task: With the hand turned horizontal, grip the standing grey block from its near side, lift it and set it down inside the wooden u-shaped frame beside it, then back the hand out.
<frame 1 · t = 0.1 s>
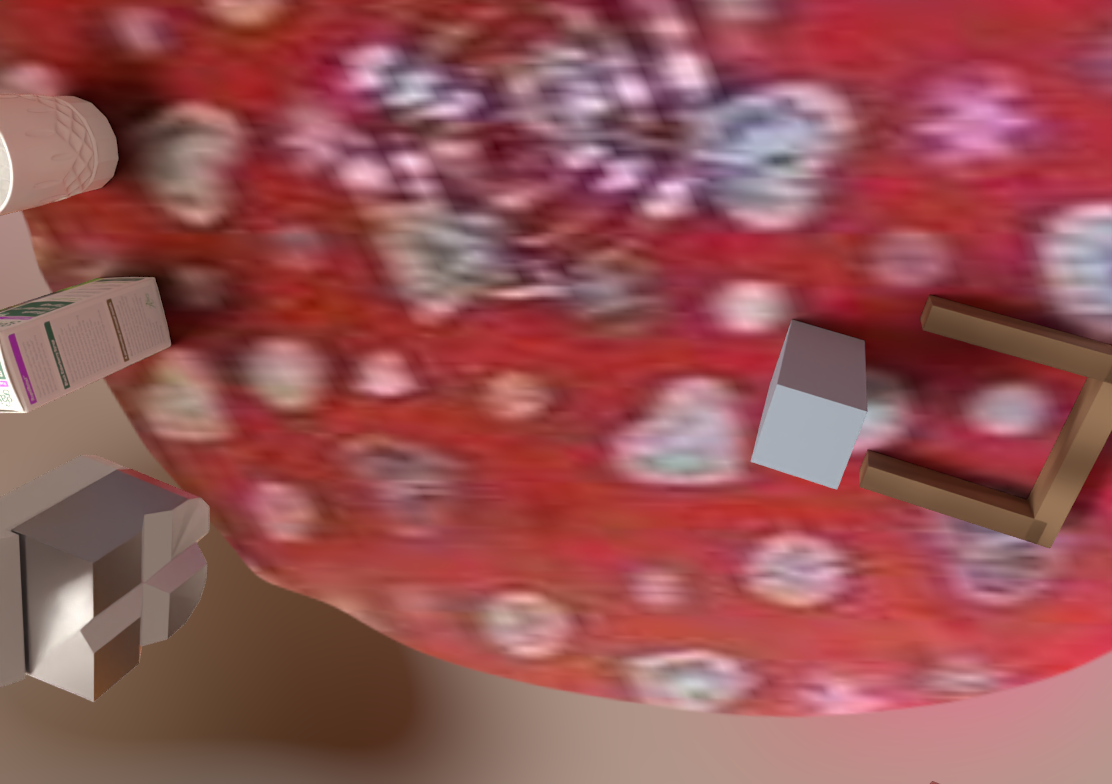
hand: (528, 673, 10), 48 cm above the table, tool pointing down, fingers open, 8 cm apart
white cup: (83, 143, 67), on the table
wooden u-shaped frame: (989, 415, 54), on the table
syrup box: (138, 312, 71), on the table
grey block: (816, 363, 56), on the table
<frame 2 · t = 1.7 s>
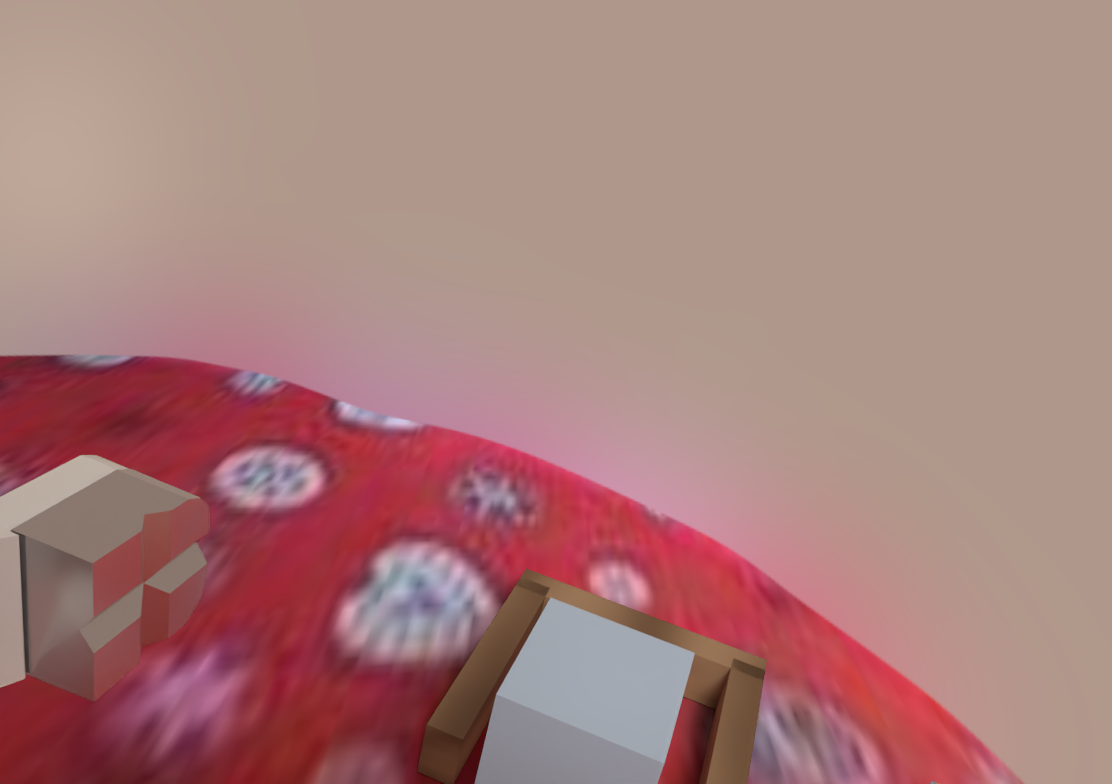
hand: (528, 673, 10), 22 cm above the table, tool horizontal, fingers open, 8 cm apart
wooden u-shaped frame: (600, 730, 39), on the table
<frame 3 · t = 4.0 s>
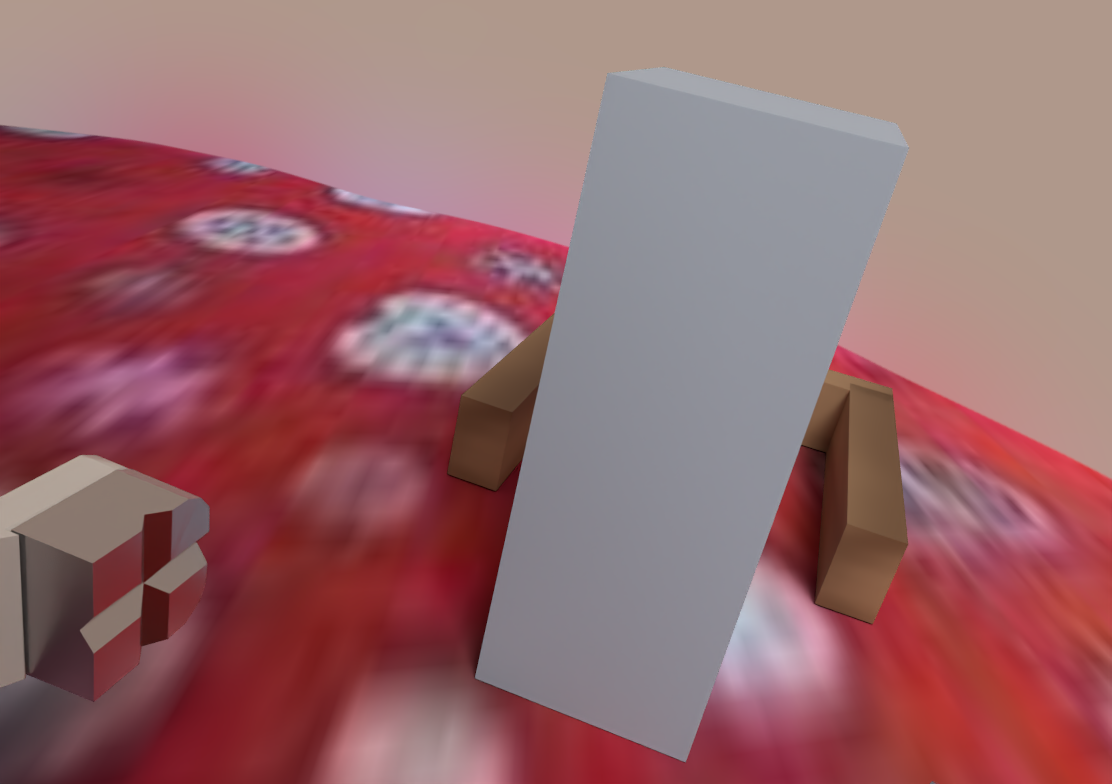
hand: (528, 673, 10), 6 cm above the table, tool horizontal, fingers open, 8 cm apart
wooden u-shaped frame: (685, 458, 29), on the table
grey block: (605, 651, 20), on the table
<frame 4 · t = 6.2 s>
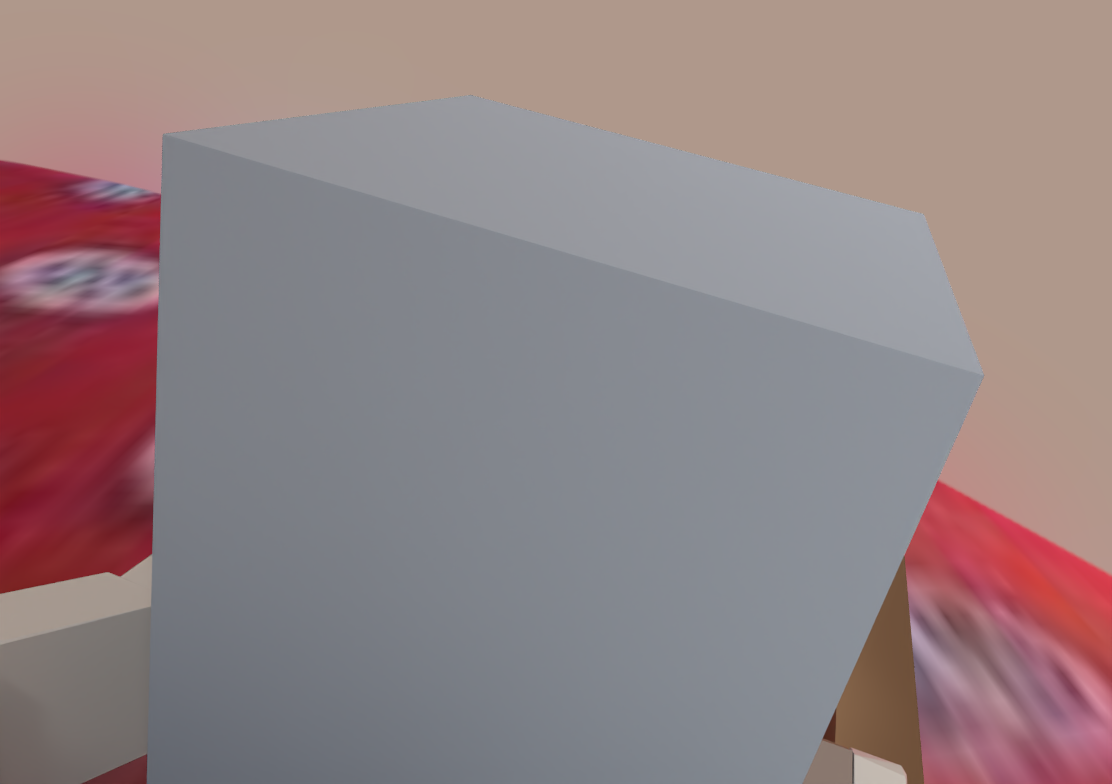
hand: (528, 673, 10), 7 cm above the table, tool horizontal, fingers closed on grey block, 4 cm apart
wooden u-shaped frame: (611, 630, 21), on the table
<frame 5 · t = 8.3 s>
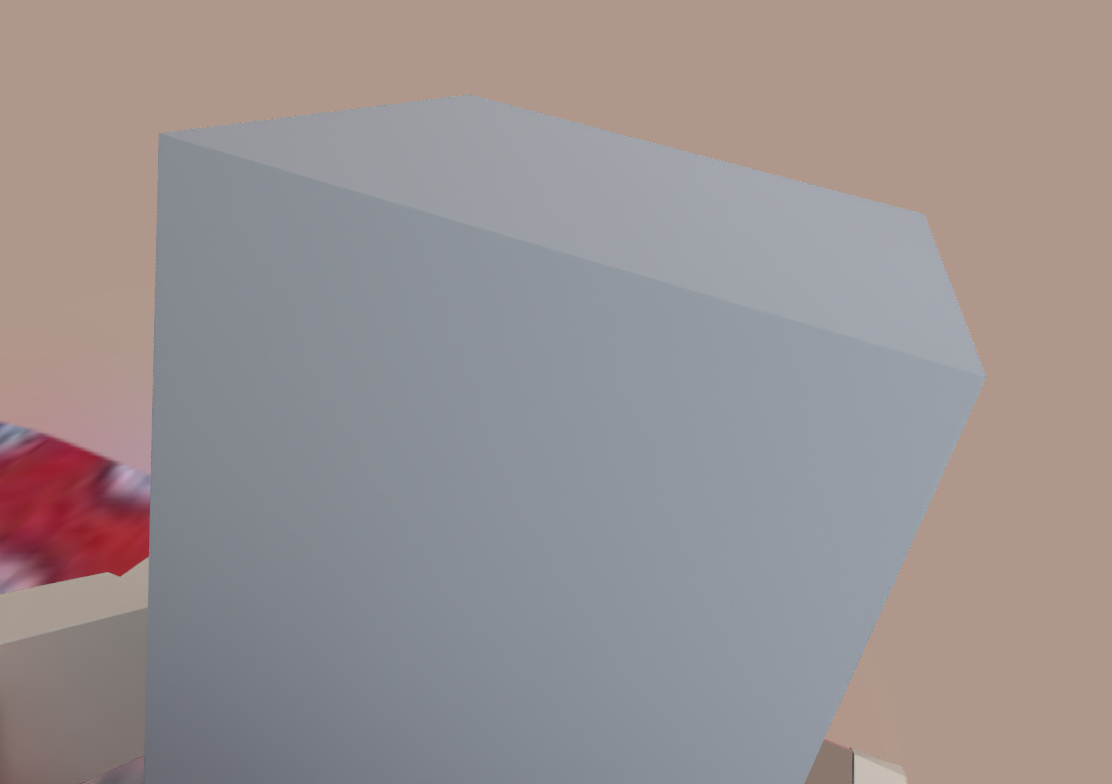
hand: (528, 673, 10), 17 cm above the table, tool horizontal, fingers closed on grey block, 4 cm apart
when the fingers open (8 cm above the table, at t = 10.7 s): grey block drops 1 cm, on the table.
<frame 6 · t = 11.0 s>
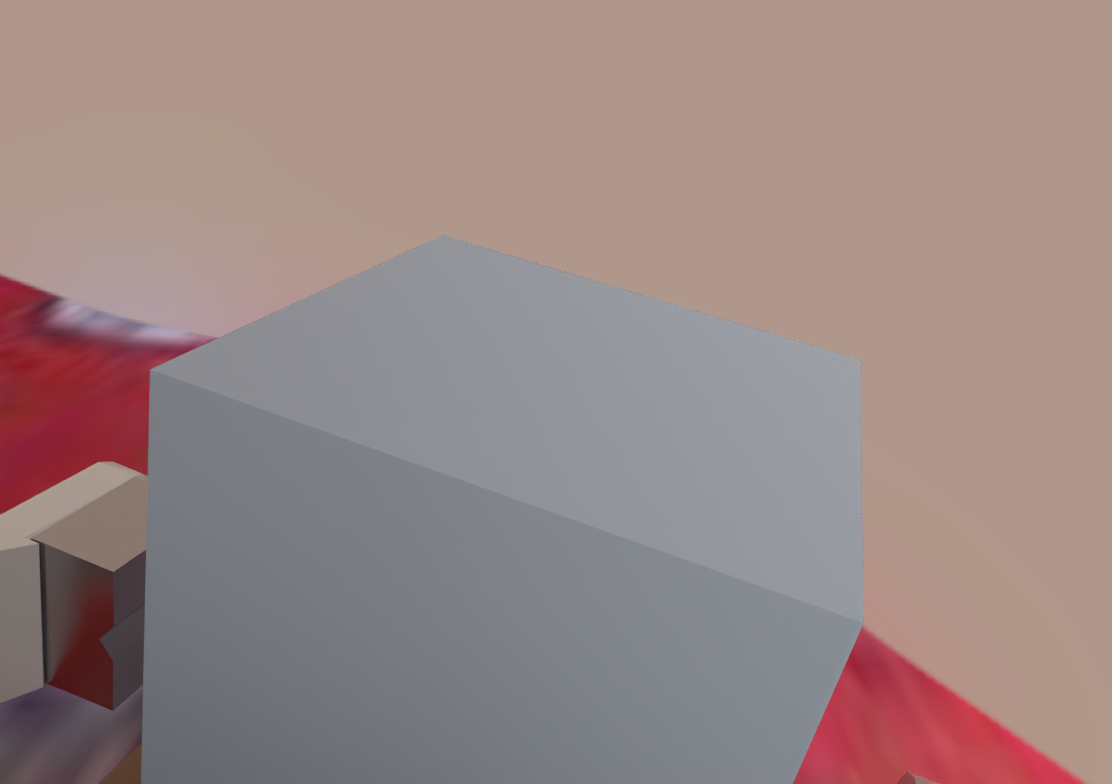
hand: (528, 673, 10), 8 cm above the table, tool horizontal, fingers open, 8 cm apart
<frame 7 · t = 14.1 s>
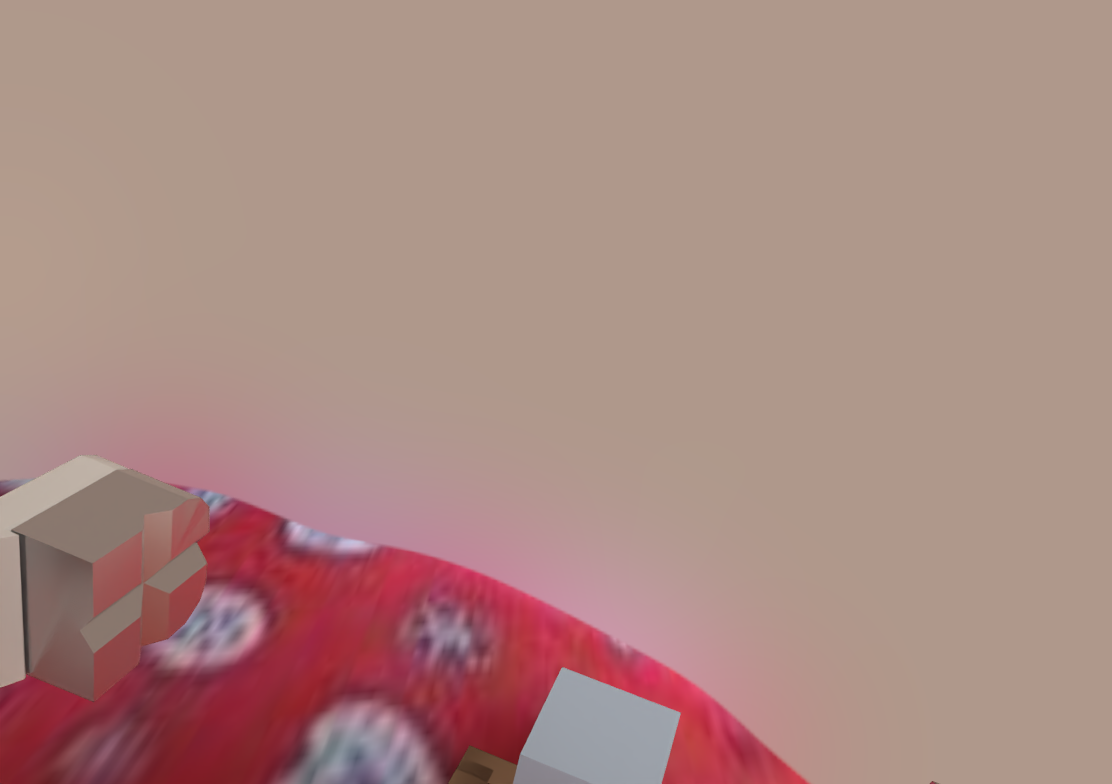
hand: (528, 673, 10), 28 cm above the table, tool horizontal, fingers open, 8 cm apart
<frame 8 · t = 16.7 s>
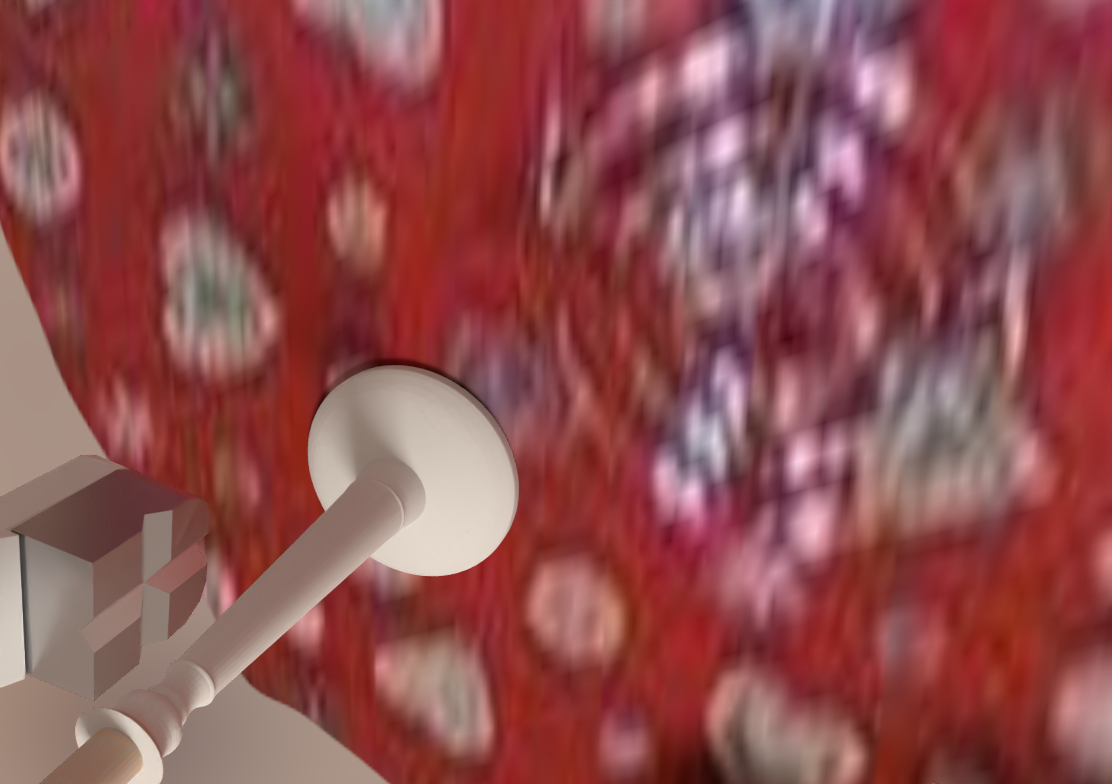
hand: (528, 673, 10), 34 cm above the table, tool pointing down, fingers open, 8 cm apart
candlestick: (414, 470, 51), on the table
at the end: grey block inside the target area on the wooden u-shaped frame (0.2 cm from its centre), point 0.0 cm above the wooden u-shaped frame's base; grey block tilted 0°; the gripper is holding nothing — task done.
